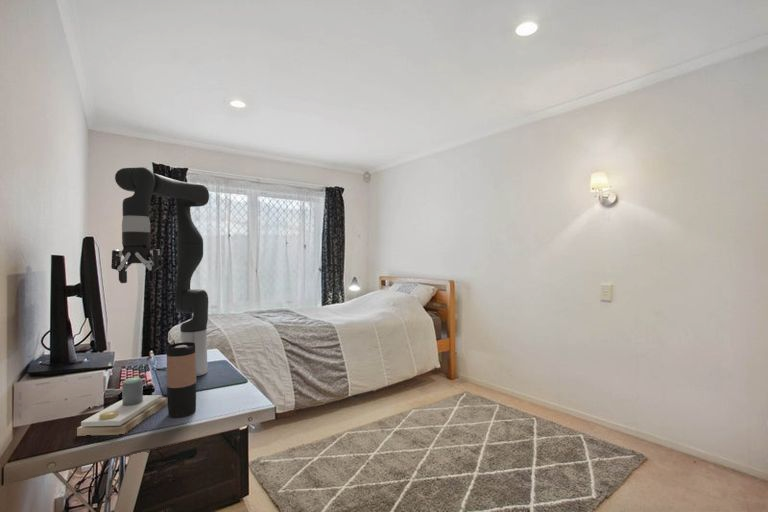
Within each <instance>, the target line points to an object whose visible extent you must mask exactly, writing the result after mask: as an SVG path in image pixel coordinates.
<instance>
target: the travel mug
mask: <svg viewBox="0 0 768 512" xmlns="http://www.w3.org/2000/svg"><path fill="white" fill-rule="evenodd" d="M166 393H167V394H166V395H167V397H166V398H167V408H168V409H167V415H168V417H169V418H171V419H179V418H186V417H188V416H191V415H193V414H195V413H196V409H197V376H196V352H195V343H192V342H183V343H181V342H177V343H172V344H168V345H167V346H166ZM185 416H186V417H185Z"/></svg>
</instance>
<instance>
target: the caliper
mask: <svg viewBox="0 0 768 512" xmlns="http://www.w3.org/2000/svg"><path fill="white" fill-rule="evenodd" d="M121 392H122V388H117V389H116V388H105V397H103V398H105V399H110V398H114V396H115V395H116V396H117V395H121V394H120V393H121Z"/></svg>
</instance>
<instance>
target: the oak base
mask: <svg viewBox="0 0 768 512" xmlns="http://www.w3.org/2000/svg"><path fill="white" fill-rule="evenodd" d="M166 406H168V398H167V397H162V399H161V400H159V401H158V402H156V403H154V404H153V405H151V406H150V407H148V408H147V409H145V410H144V411H142V412H141V413H139V414H137V415H136V416H134V417H133V418H131V419H130V420H128V421H127V422H125V423H123V424H122V425H120V426H85V427H81V425H80V426H78V427H76V429H77V430H76V434H77V435H76V436H77V437H83V436H86V435H91V436H114V435H117V436H118V435H119V434H124V435H126V434H127V433H129V432H130V431H132V430H133V429H134V428H135V426H136V425H137V424H138V425H140V424H141V423H142V422H141V421H143V420H144V419H145V420H147V419H148V418H149V416H150V415H151V416H152V414H153V415H154V414H156V413H157V412H158V411H159V410H161V409H163V408H164V407H166ZM151 416H150V417H151ZM147 417H148V418H147ZM146 418H147V419H146ZM145 420H144V421H145ZM144 421H143V422H144ZM140 422H141V423H140ZM139 423H140V424H139ZM138 425H137V426H138ZM137 426H136V427H137ZM133 427H134V428H133ZM132 428H133V429H132ZM129 430H130V431H129ZM128 431H129V432H128ZM125 433H126V434H125ZM119 436H120V435H119ZM86 437H87V436H86Z"/></svg>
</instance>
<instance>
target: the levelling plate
mask: <svg viewBox="0 0 768 512" xmlns="http://www.w3.org/2000/svg"><path fill="white" fill-rule="evenodd" d="M121 385H122V386H121V387H122V388H121V389H122V394H121V395H122V396H121V398H122V399H121V400H119V401H117V402H115V403H114V404H110V405H109V406H107V407H106V408H104V409H102V410H100V411H98V412H97V413H95V414H93V415H91V416H89V417H87V418H86V419H84V420H82V421H81V422H80V426H81V427H85V426H120V425H122V424H123V423H125V422H127V421H128V420H130V419H131V418H133V417H134V416H136V415H137V414H139V413H141V412H142V411H144V410H145V409H147V408H148V407H150V406H151V405H153V404H154V403H156V402H158V401H159V400H161V399H162V398H163V397H162V394H151V395H150V394H149V395H147V394H146V395H144V391H143V386H144V383H143V379H141V377H130V378H126V379H124V381H123V382H122V383H121Z"/></svg>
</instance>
